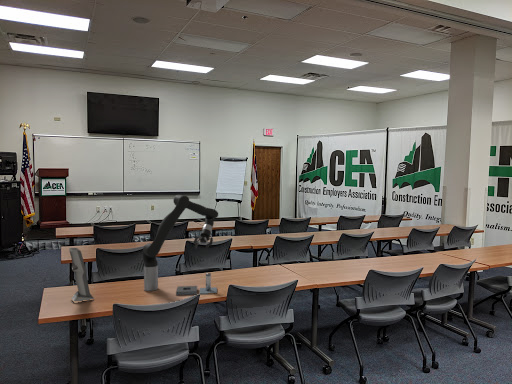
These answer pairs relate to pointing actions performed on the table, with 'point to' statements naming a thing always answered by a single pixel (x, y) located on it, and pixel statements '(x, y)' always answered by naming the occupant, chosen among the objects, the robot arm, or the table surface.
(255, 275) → the table surface
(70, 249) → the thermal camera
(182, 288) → the chuck plate
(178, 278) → the table surface
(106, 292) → the table surface
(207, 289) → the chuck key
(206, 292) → the rubber mat
